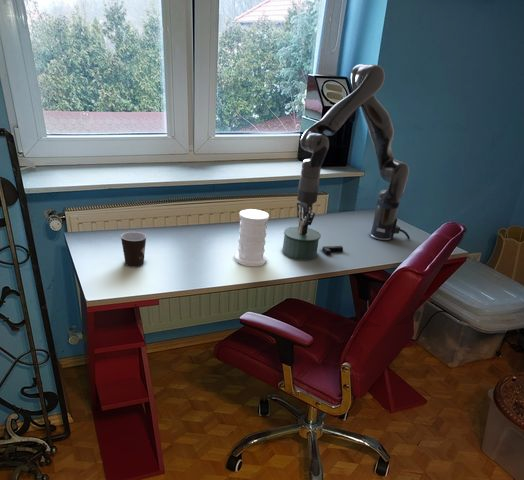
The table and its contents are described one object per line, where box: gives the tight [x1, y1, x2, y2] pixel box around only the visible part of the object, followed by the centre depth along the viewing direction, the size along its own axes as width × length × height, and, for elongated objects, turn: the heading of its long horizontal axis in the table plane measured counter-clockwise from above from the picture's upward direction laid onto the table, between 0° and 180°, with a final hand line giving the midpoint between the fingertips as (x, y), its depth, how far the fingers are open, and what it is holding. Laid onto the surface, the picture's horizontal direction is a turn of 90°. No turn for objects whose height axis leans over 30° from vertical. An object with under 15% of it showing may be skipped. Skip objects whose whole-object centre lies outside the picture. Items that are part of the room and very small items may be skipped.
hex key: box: [321, 245, 344, 256], centre depth 216 cm, size 8×5×2 cm, turn 107°
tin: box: [282, 233, 320, 261], centre depth 211 cm, size 14×14×8 cm
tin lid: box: [283, 220, 322, 241], centre depth 207 cm, size 15×15×6 cm
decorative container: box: [234, 208, 270, 267], centre depth 197 cm, size 12×12×18 cm
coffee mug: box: [120, 231, 147, 268], centre depth 189 cm, size 12×9×10 cm
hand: (302, 232), depth 208 cm, fingers closed on tin lid, 2 cm apart
